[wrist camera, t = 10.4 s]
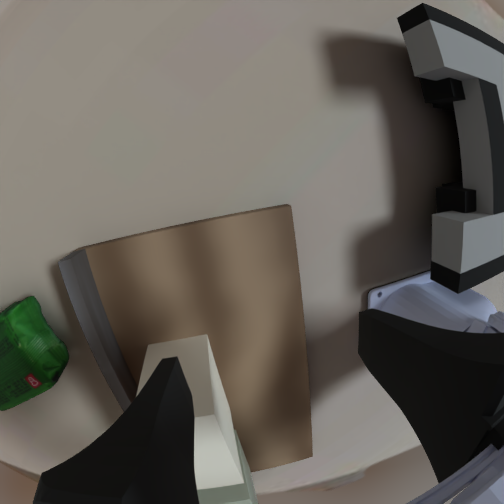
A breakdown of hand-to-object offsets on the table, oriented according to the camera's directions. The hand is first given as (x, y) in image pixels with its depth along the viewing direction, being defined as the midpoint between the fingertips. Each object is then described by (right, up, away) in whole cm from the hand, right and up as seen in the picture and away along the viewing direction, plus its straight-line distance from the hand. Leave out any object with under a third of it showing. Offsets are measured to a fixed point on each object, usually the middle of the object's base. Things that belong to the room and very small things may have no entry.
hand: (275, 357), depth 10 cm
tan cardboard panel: (-4, -8, +12) cm, 15 cm away
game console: (+26, +16, +12) cm, 33 cm away
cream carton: (-6, -6, +10) cm, 13 cm away
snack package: (-23, -5, +9) cm, 25 cm away
